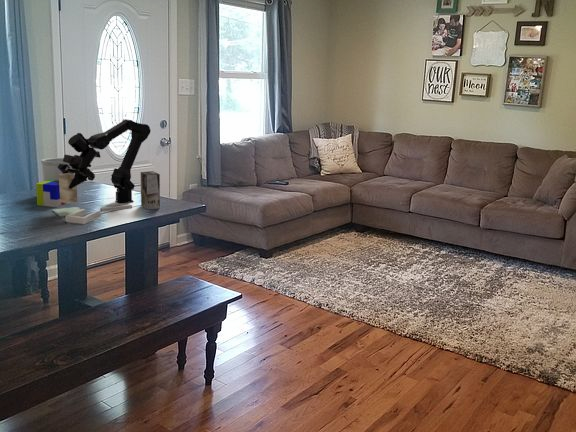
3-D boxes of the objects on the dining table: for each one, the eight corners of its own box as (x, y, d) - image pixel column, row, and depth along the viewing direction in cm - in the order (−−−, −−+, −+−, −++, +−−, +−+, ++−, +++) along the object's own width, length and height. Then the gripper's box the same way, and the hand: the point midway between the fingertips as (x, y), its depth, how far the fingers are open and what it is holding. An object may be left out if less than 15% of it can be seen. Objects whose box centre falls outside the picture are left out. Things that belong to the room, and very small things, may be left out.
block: (69, 199, 262) (68, 173, 259) (77, 201, 259) (76, 174, 256) (60, 201, 258) (58, 174, 255) (67, 203, 255) (66, 176, 252)
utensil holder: (39, 193, 292) (37, 158, 288) (70, 190, 301) (68, 156, 297) (48, 199, 281) (46, 162, 277) (80, 196, 290) (78, 160, 286)
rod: (130, 208, 273) (130, 204, 273) (132, 208, 272) (132, 205, 272) (100, 211, 265) (100, 207, 265) (102, 212, 264) (102, 208, 263)
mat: (77, 208, 267) (77, 206, 267) (86, 213, 259) (86, 212, 259) (52, 210, 261) (52, 209, 260) (60, 216, 252) (60, 215, 252)
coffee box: (160, 208, 273) (160, 174, 269) (146, 209, 270) (146, 174, 266) (154, 204, 281) (153, 170, 277) (140, 205, 277) (140, 171, 273)
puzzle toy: (57, 207, 268) (56, 185, 265) (37, 205, 270) (35, 183, 267) (69, 202, 277) (68, 181, 275) (50, 200, 279) (48, 179, 277)
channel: (83, 214, 257) (82, 209, 256) (100, 216, 255) (100, 210, 254) (65, 221, 244) (65, 216, 243) (84, 223, 242) (83, 218, 242)
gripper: (59, 145, 261) (39, 173, 254) (88, 149, 251) (67, 179, 245) (75, 160, 269) (56, 188, 263) (103, 166, 260) (84, 194, 253)
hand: (65, 187), depth 256 cm, fingers closed on block, 5 cm apart
